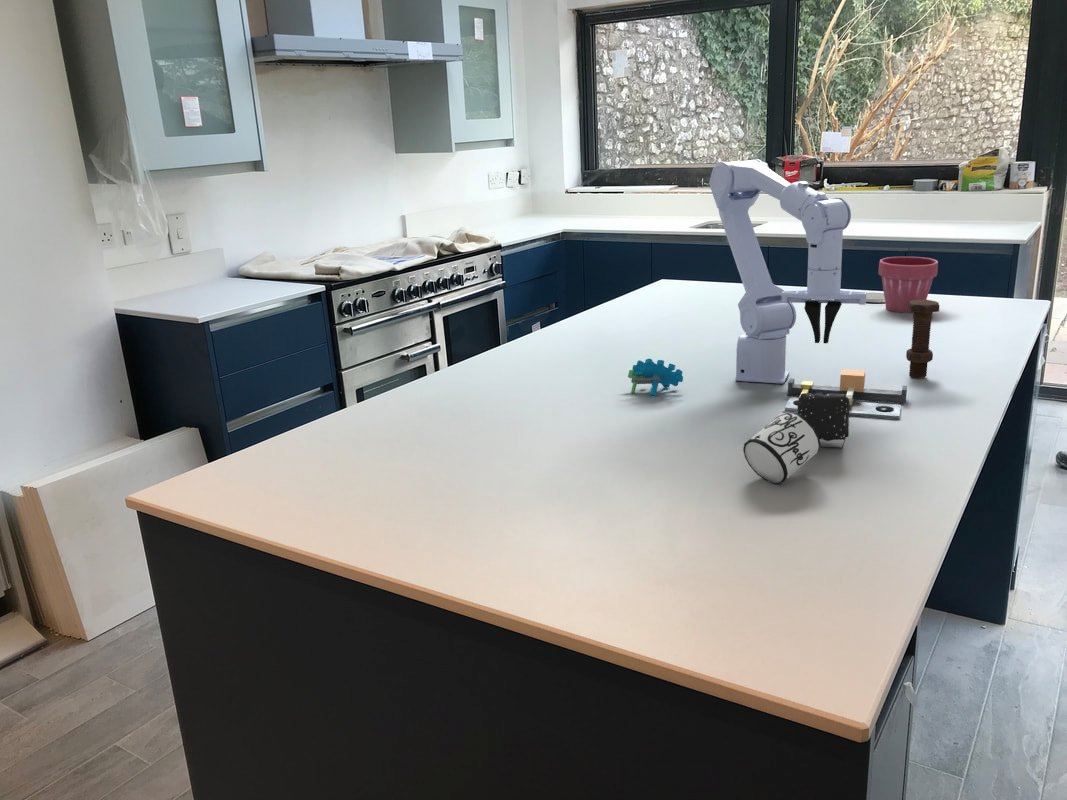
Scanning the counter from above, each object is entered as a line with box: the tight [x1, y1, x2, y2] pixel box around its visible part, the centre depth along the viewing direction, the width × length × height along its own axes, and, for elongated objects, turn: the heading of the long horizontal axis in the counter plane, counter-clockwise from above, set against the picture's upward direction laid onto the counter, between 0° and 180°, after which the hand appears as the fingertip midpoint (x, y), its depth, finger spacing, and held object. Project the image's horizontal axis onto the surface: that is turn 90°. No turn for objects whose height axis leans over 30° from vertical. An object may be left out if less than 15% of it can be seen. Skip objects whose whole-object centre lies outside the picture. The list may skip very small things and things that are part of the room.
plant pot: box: [878, 256, 939, 313], centre depth 229 cm, size 14×14×13 cm
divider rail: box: [787, 377, 908, 405], centre depth 160 cm, size 21×10×3 cm, turn 67°
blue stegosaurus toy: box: [627, 358, 684, 397], centre depth 171 cm, size 11×6×10 cm
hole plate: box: [784, 396, 902, 420], centre depth 156 cm, size 19×6×1 cm, turn 67°
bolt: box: [905, 299, 940, 380], centre depth 170 cm, size 6×5×15 cm
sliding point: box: [839, 368, 866, 405], centre depth 159 cm, size 4×10×4 cm, turn 157°
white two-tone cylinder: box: [742, 393, 850, 485], centre depth 133 cm, size 25×10×10 cm, turn 140°
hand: (821, 342), depth 161 cm, fingers closed
